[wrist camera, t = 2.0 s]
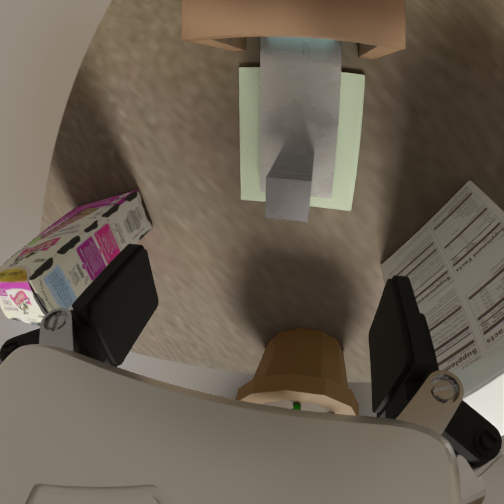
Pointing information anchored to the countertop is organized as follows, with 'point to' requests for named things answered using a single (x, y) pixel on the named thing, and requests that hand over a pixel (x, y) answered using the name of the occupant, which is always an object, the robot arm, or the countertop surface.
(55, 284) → the candy bar box
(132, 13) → the countertop surface
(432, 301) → the supplement box
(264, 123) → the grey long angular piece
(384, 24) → the tunnel
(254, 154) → the board
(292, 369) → the flowerpot
